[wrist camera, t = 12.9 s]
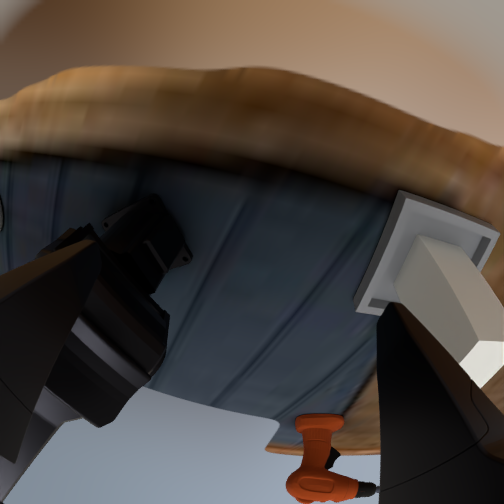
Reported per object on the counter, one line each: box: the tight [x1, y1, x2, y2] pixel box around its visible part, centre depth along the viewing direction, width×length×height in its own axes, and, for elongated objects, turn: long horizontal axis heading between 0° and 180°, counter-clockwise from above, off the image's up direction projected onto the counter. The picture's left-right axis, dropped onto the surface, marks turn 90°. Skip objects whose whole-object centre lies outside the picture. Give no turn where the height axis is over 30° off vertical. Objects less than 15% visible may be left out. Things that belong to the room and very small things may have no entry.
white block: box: [393, 234, 504, 388], centre depth 16 cm, size 5×5×11 cm
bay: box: [353, 190, 500, 316], centre depth 21 cm, size 11×11×2 cm
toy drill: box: [286, 414, 380, 504], centre depth 31 cm, size 5×19×15 cm, turn 86°
